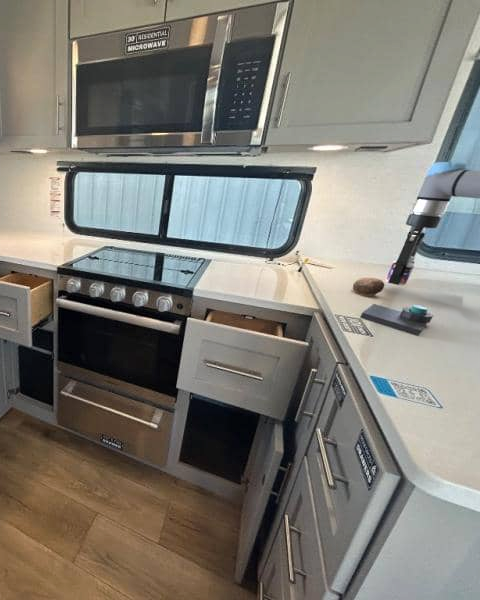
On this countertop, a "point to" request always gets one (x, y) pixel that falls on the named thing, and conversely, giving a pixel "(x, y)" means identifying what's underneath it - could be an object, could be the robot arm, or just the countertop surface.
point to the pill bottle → (406, 273)
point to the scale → (397, 318)
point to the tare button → (419, 309)
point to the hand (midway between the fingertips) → (395, 282)
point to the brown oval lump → (368, 286)
